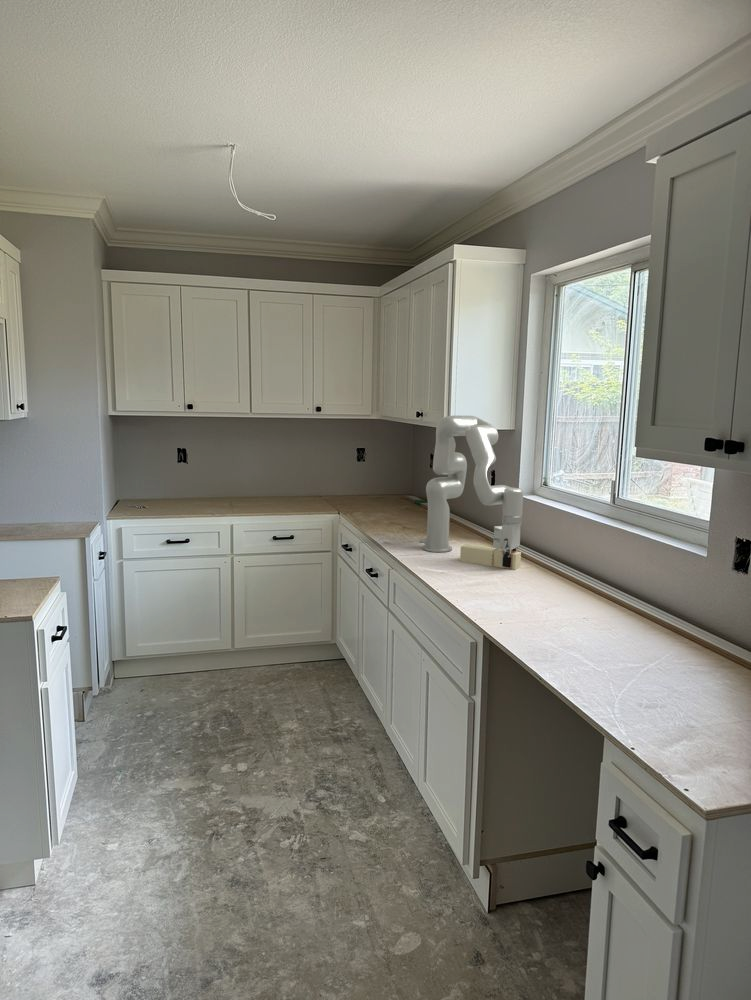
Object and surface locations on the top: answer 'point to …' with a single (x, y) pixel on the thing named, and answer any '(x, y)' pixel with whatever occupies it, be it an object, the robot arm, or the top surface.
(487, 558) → the block
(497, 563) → the stub
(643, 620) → the top surface
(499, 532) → the supplement box
